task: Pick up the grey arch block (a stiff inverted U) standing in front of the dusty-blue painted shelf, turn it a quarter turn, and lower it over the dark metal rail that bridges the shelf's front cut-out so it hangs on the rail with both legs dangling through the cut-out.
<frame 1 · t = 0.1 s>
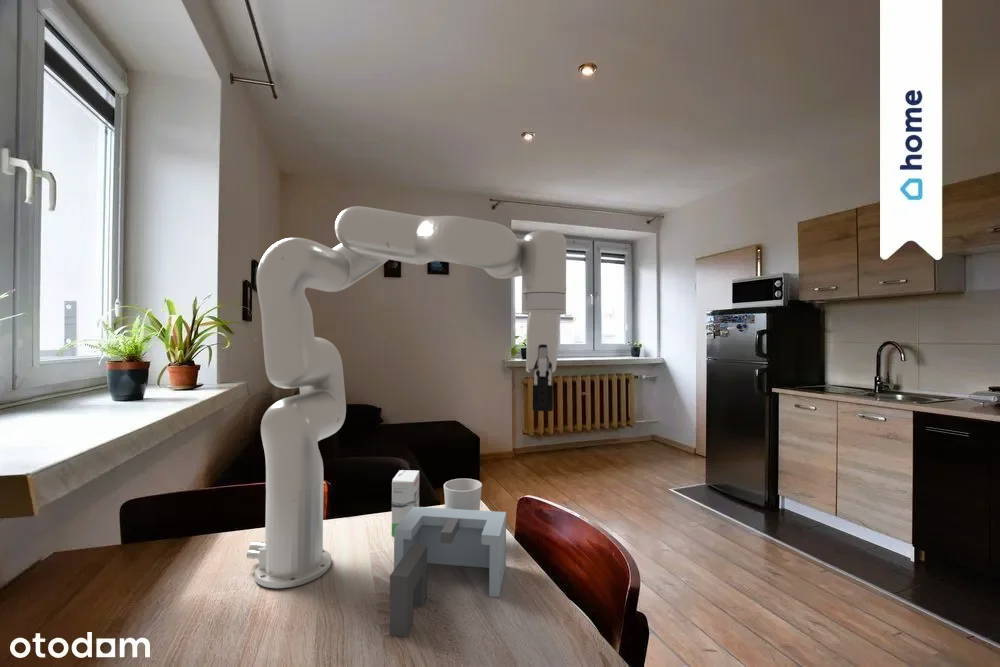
hand: (543, 406, 74), 31 cm above the table, fingers open, 9 cm apart
cup: (462, 543, 91), on the table
ink box: (405, 528, 97), on the table
grey arch block: (409, 615, 67), on the table
shelf: (452, 576, 78), on the table
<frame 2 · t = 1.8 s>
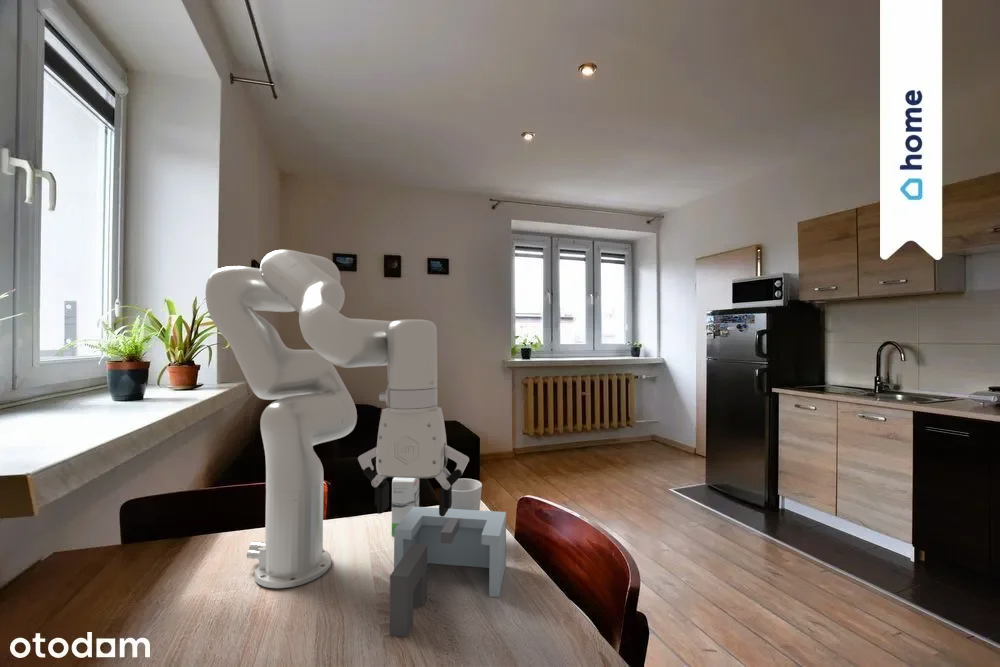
hand: (413, 511, 67), 16 cm above the table, fingers open, 9 cm apart
nothing on the table moved.
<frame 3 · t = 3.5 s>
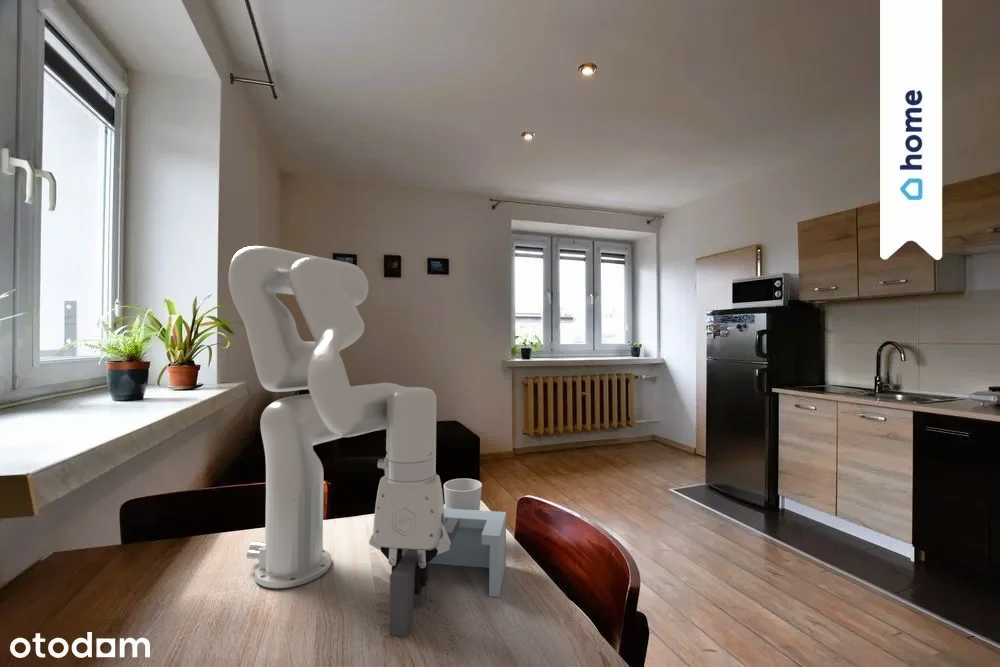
hand: (409, 587, 67), 4 cm above the table, fingers closed on grey arch block, 2 cm apart
grey arch block: (409, 614, 67), on the table, touching gripper
everything else where it was.
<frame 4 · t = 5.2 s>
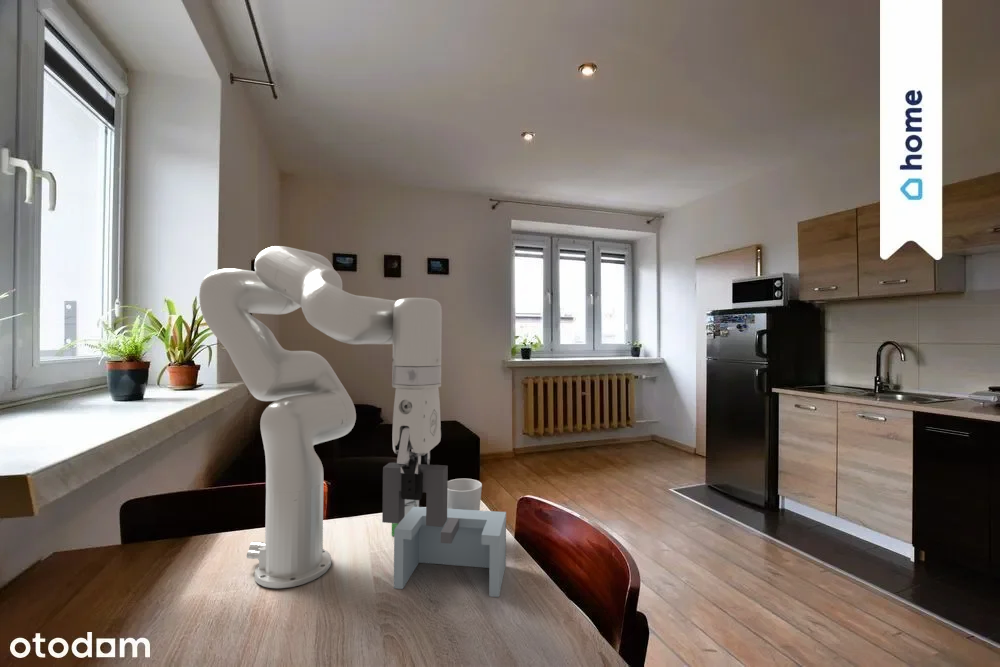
hand: (415, 494, 68), 18 cm above the table, fingers closed on grey arch block, 2 cm apart
grey arch block: (415, 521, 68), point 14 cm above the table, touching gripper
everything else where it was.
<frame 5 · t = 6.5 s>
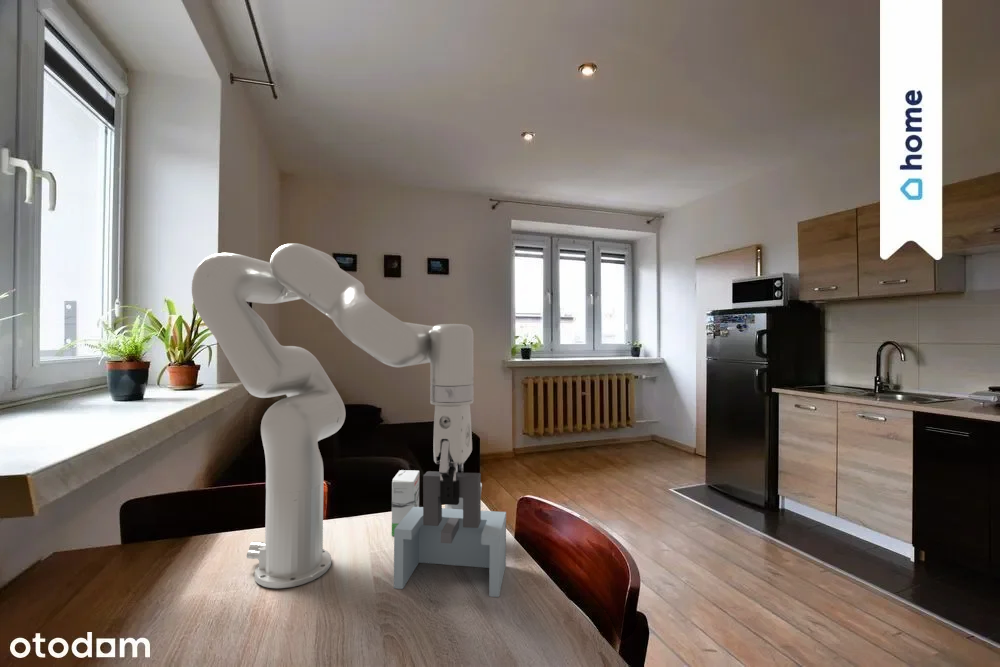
hand: (452, 499, 76), 14 cm above the table, fingers closed on grey arch block, 2 cm apart
grey arch block: (452, 523, 76), point 10 cm above the table, touching gripper
everything else where it was.
when the fingers open (11 cm above the table, at t = 7.2 s): grey arch block drops 2 cm, resting on shelf.
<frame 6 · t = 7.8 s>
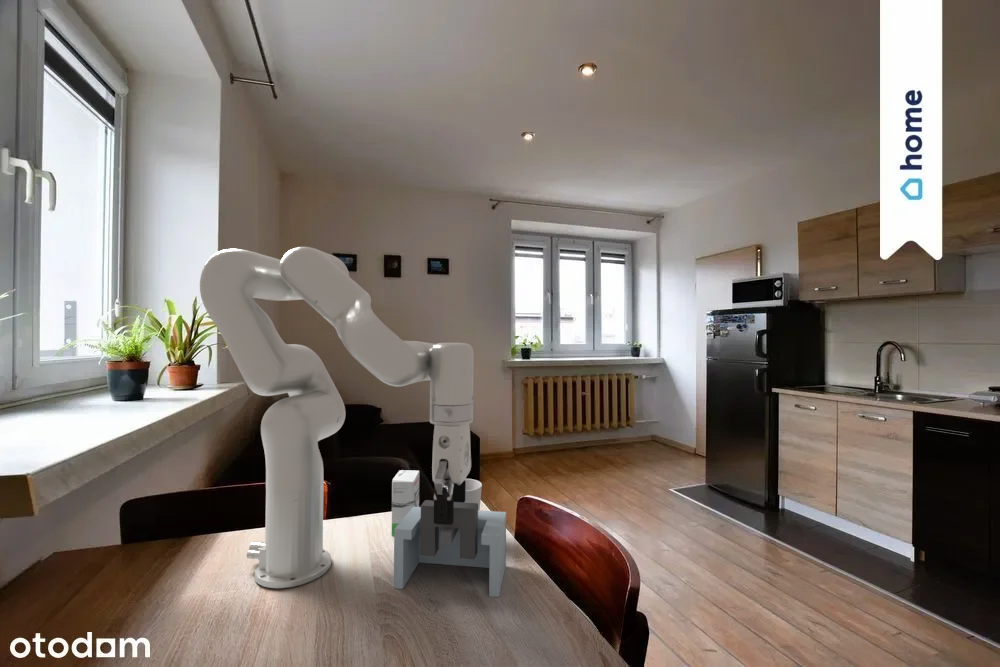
hand: (450, 512, 76), 12 cm above the table, fingers open, 9 cm apart
grey arch block: (448, 553, 76), point 5 cm above the table, touching shelf
everything else where it was.
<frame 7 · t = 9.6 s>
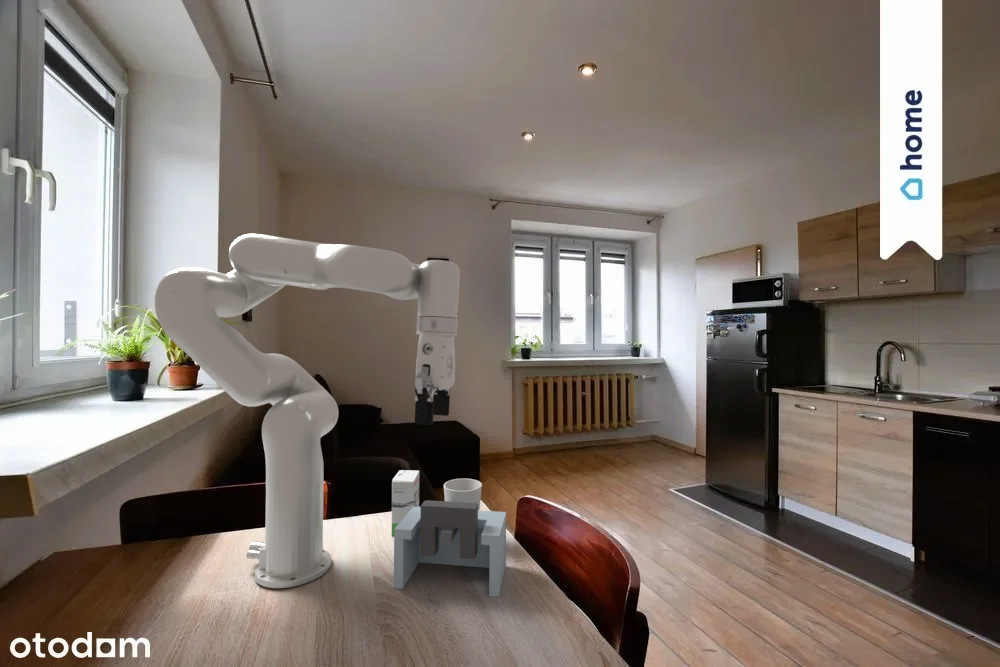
hand: (432, 419, 81), 27 cm above the table, fingers open, 9 cm apart
nothing on the table moved.
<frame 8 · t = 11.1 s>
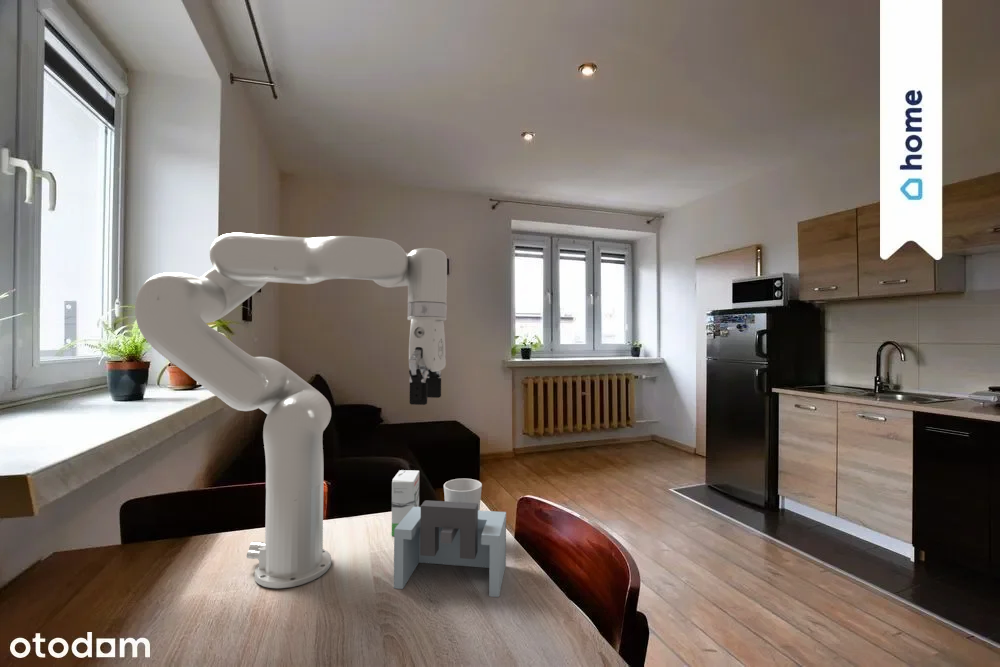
hand: (426, 400, 85), 30 cm above the table, fingers open, 9 cm apart
nothing on the table moved.
at the end: grey arch block 0.3 cm from the target spot on the shelf, point 5.0 cm above the shelf's base; grey arch block touching shelf; the gripper is holding nothing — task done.
